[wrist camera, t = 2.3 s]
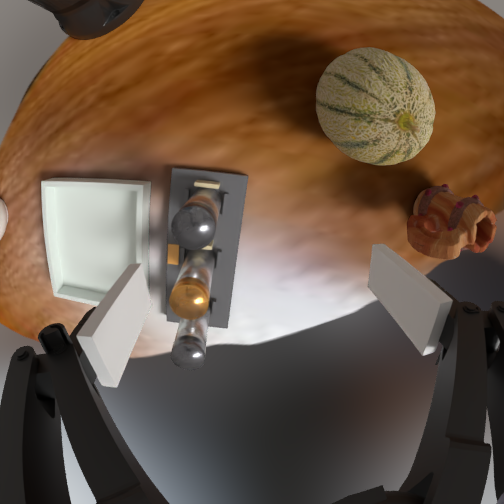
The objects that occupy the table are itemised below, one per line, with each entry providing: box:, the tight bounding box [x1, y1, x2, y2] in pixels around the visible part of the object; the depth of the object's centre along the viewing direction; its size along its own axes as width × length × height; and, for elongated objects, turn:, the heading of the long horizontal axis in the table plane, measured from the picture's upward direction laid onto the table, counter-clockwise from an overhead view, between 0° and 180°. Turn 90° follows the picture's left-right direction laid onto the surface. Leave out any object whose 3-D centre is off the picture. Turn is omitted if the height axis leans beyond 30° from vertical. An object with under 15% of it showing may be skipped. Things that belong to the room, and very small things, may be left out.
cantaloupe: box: [316, 47, 435, 165], centre depth 26 cm, size 15×15×15 cm
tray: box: [41, 178, 151, 306], centre depth 36 cm, size 18×20×4 cm
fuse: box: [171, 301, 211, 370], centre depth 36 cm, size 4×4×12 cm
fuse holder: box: [166, 167, 248, 328], centre depth 38 cm, size 10×24×4 cm, turn 172°
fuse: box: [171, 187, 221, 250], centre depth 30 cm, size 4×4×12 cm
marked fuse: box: [169, 249, 215, 320], centre depth 33 cm, size 4×4×12 cm
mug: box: [407, 184, 497, 260], centre depth 32 cm, size 15×8×15 cm, turn 107°
